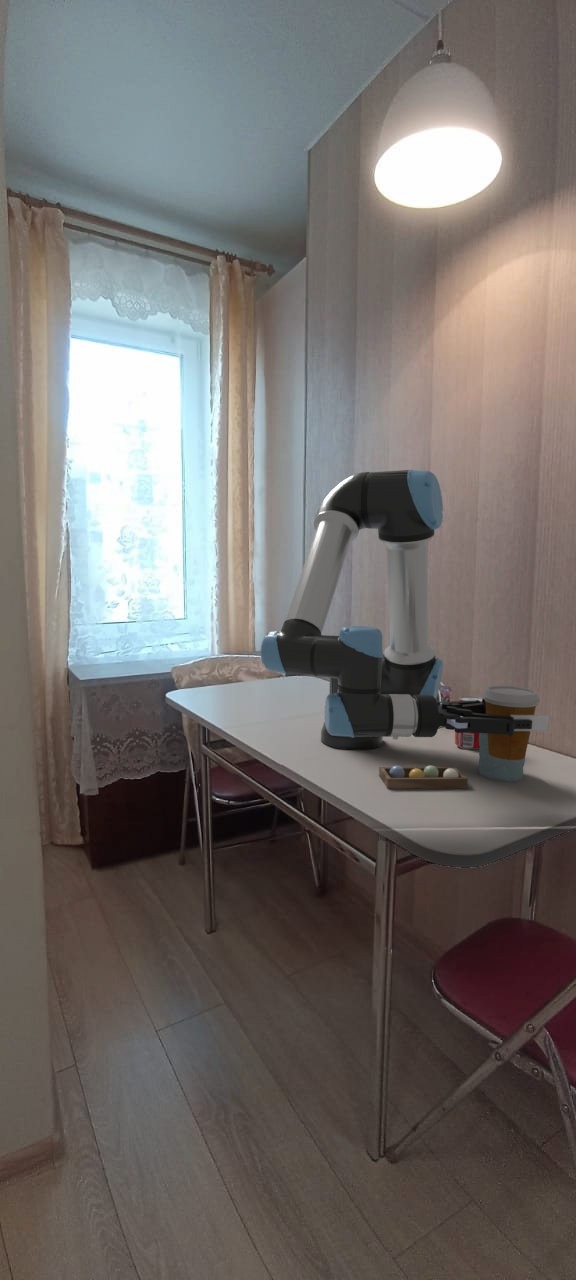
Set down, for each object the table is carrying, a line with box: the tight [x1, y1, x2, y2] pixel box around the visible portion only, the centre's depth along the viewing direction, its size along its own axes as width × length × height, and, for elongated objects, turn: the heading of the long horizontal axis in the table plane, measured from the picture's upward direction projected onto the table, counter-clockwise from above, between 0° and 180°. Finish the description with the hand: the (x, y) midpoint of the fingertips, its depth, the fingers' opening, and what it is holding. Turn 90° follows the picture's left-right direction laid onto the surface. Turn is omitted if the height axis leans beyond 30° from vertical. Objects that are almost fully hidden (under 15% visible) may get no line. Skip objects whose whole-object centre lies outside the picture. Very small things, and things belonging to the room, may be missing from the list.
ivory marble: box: [443, 768, 459, 778], centre depth 121 cm, size 3×3×3 cm
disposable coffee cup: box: [482, 685, 540, 760], centre depth 110 cm, size 10×10×12 cm
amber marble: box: [409, 768, 424, 778], centre depth 121 cm, size 3×3×3 cm
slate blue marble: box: [390, 765, 405, 778], centre depth 122 cm, size 3×3×3 cm
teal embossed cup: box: [478, 733, 527, 782], centre depth 127 cm, size 10×10×12 cm
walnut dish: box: [378, 766, 469, 790], centre depth 122 cm, size 7×16×2 cm, turn 95°
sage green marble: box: [423, 764, 439, 778], centre depth 123 cm, size 3×3×3 cm
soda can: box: [454, 695, 484, 751], centre depth 147 cm, size 7×7×12 cm
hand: (534, 716), depth 110 cm, fingers closed on disposable coffee cup, 8 cm apart
